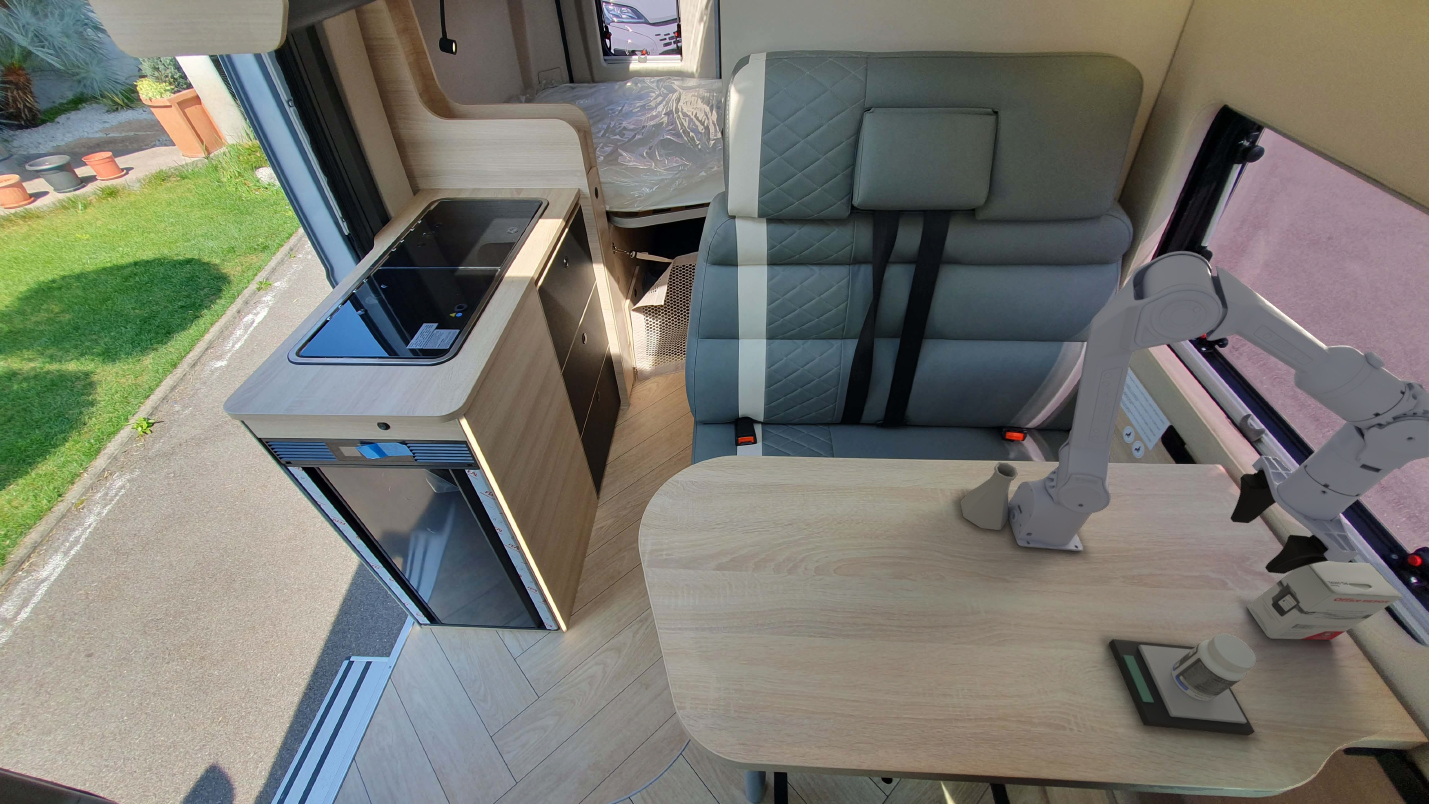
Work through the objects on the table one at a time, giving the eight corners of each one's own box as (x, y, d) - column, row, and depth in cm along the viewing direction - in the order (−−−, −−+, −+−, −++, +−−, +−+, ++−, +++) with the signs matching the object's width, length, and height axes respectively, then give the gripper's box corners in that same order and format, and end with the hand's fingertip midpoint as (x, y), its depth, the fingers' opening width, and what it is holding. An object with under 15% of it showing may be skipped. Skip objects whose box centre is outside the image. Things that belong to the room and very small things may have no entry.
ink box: (1306, 607, 80) (1373, 560, 72) (1333, 642, 77) (1407, 596, 69) (1244, 605, 80) (1304, 557, 72) (1268, 639, 77) (1335, 593, 69)
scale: (1143, 725, 68) (1151, 719, 67) (1108, 642, 76) (1115, 636, 75) (1248, 735, 68) (1258, 730, 67) (1202, 651, 75) (1211, 645, 74)
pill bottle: (1221, 705, 68) (1269, 675, 63) (1178, 696, 69) (1222, 666, 63) (1205, 666, 72) (1248, 634, 66) (1164, 658, 73) (1204, 626, 67)
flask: (1009, 503, 92) (1034, 462, 86) (1005, 537, 88) (1031, 496, 81) (963, 487, 95) (983, 445, 88) (956, 520, 90) (977, 478, 83)
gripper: (1422, 532, 61) (1327, 598, 70) (1326, 434, 71) (1254, 503, 80) (1352, 526, 61) (1266, 593, 70) (1267, 430, 72) (1202, 498, 81)
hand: (1256, 544), depth 75 cm, fingers open, 7 cm apart
